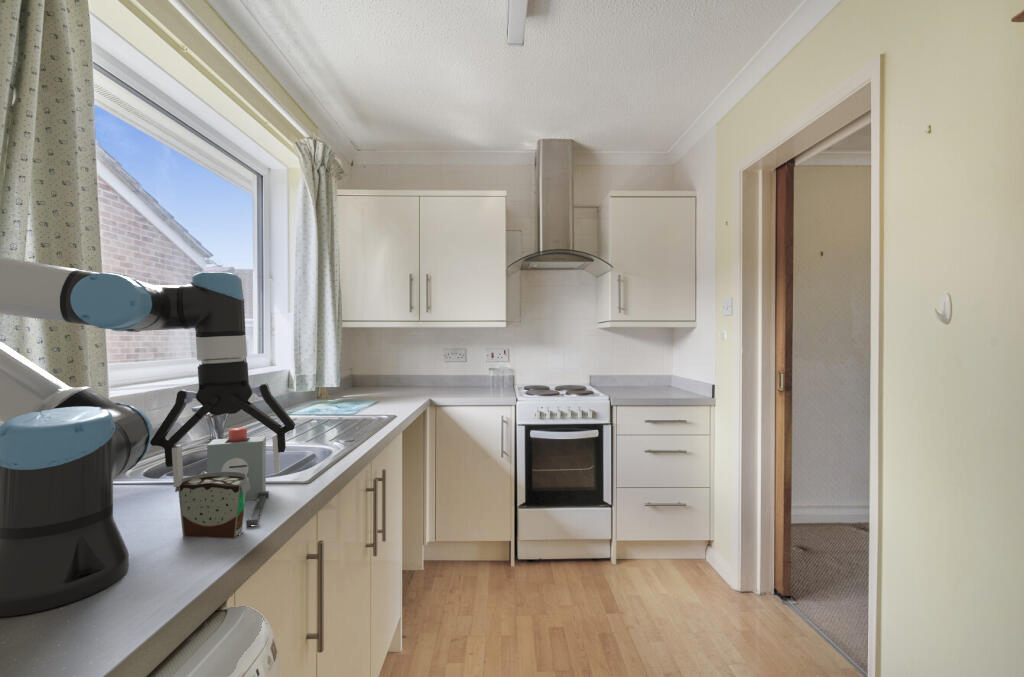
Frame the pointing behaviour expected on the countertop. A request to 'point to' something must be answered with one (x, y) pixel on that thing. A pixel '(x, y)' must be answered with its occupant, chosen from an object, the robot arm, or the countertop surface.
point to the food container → (213, 504)
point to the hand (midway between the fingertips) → (230, 481)
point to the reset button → (237, 434)
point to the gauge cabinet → (240, 461)
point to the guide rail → (257, 509)
